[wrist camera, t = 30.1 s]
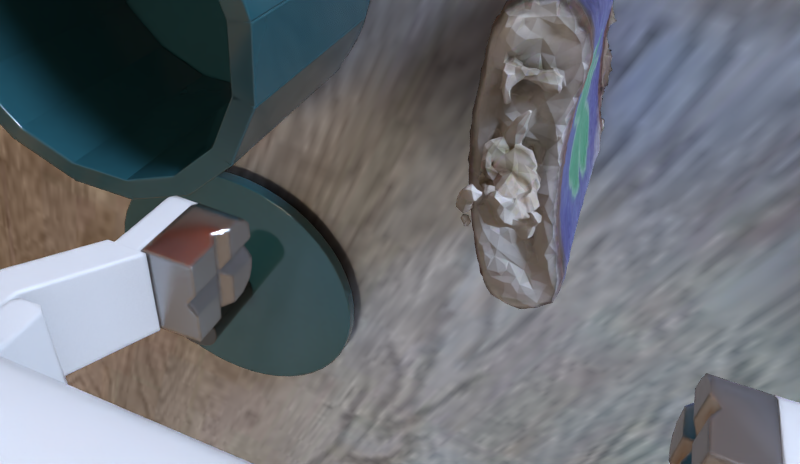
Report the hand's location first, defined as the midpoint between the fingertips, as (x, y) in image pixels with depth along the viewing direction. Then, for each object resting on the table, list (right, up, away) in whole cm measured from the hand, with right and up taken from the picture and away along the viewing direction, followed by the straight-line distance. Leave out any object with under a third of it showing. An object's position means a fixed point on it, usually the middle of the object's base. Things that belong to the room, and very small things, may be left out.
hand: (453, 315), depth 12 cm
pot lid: (-10, -1, +25) cm, 26 cm away
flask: (+5, +8, +12) cm, 15 cm away
